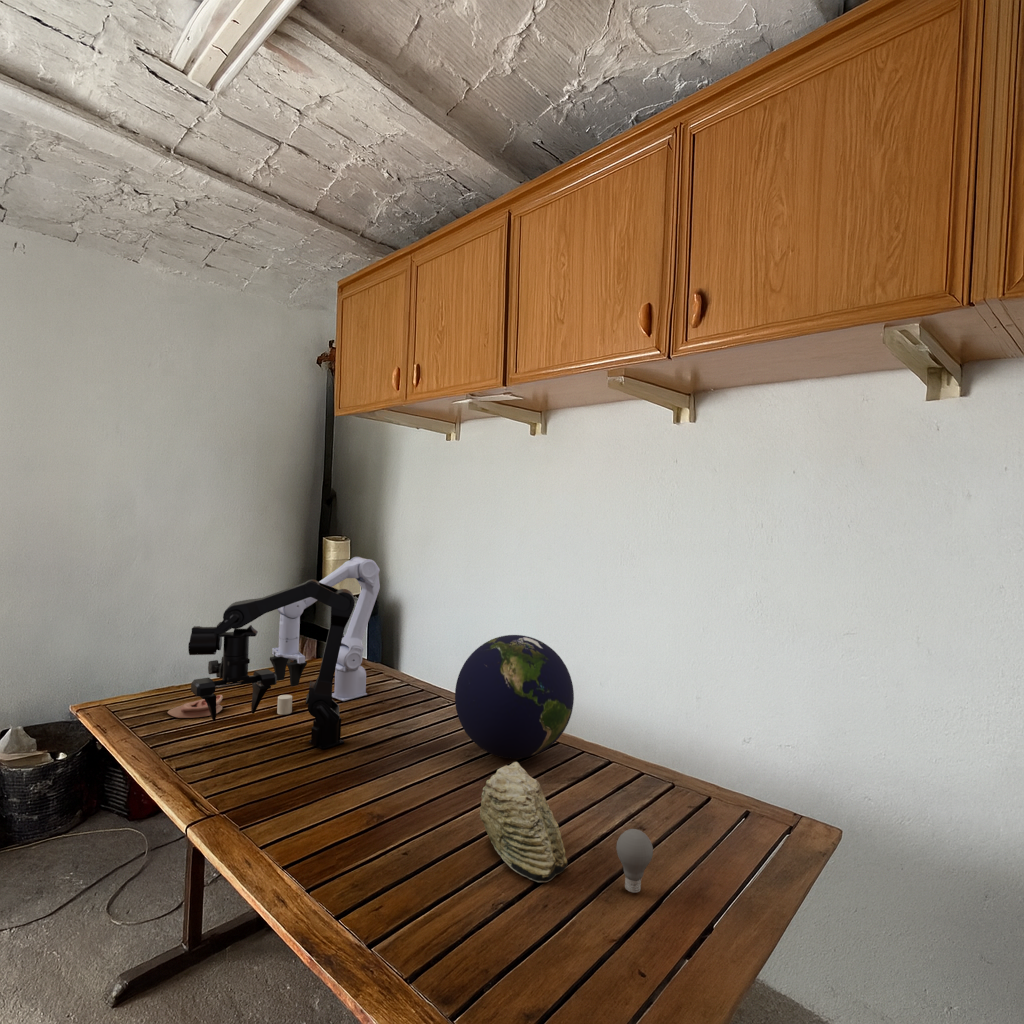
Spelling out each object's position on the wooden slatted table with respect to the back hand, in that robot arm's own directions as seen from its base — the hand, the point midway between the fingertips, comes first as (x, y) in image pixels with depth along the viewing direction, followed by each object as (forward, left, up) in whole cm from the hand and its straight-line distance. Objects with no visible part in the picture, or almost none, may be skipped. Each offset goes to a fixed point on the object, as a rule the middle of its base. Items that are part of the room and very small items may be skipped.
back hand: (287, 682), depth 189 cm
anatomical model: (+21, -13, -7) cm, 26 cm away
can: (+3, +4, -7) cm, 9 cm away
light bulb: (+11, +120, -7) cm, 121 cm away
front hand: (+27, +19, +1) cm, 33 cm away
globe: (-19, +71, -7) cm, 74 cm away
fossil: (+16, +100, -7) cm, 102 cm away
